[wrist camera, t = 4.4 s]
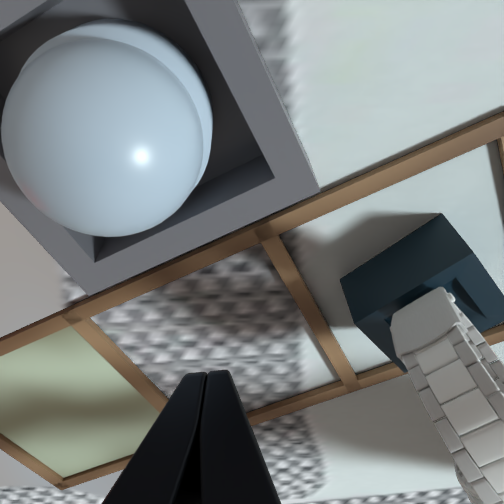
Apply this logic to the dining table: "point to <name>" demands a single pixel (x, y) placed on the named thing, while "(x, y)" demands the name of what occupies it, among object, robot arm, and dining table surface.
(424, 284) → the watch
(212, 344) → the dining table surface
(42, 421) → the brown flat frame
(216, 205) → the dome frame
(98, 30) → the dome button
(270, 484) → the robot arm
